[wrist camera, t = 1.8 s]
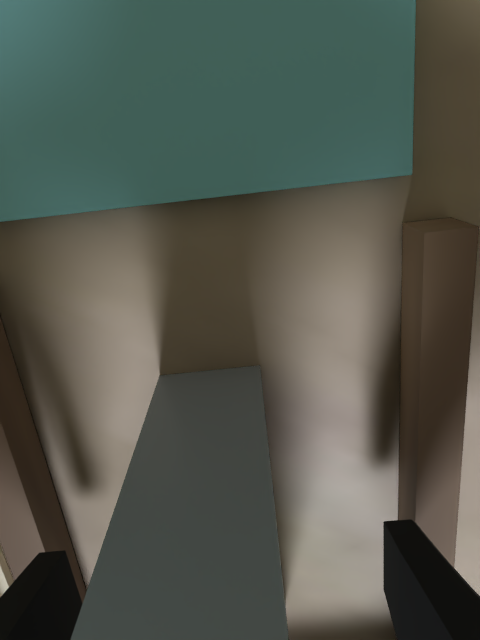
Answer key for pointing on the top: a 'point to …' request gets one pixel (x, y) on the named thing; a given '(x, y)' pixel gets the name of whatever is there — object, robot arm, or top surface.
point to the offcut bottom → (4, 574)
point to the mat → (198, 99)
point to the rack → (415, 406)
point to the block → (193, 522)
